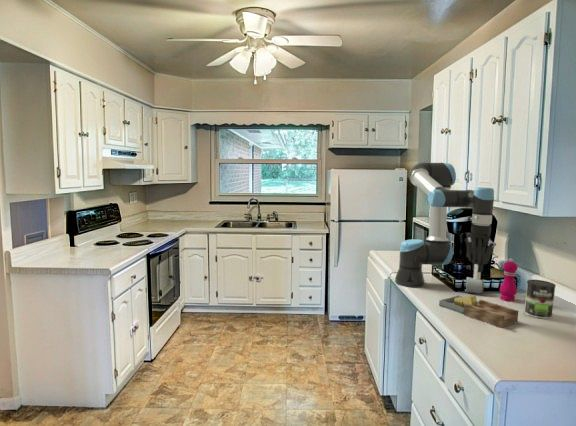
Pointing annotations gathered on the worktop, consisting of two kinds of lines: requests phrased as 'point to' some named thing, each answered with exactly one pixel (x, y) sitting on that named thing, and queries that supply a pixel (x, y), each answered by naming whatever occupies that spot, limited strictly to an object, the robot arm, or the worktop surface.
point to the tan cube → (458, 301)
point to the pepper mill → (509, 281)
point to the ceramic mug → (474, 286)
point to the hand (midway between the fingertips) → (476, 278)
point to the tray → (452, 304)
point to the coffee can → (539, 299)
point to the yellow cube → (469, 300)
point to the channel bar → (492, 313)
